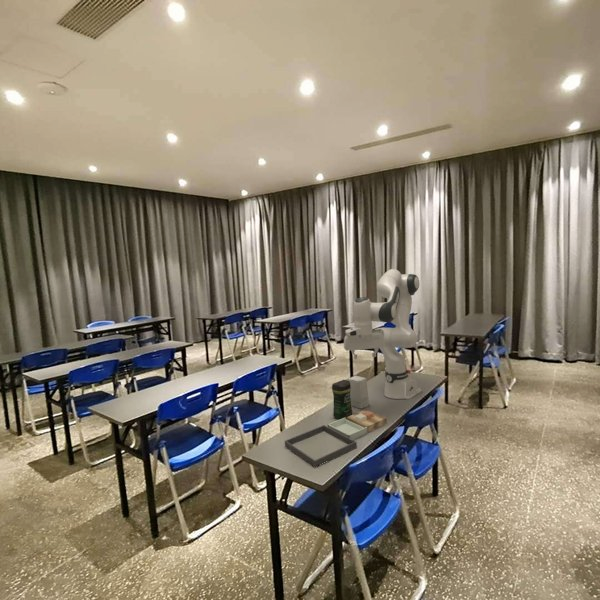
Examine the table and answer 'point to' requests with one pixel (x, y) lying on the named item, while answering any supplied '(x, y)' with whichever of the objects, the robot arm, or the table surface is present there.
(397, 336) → the robot arm
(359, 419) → the cream tile
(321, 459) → the mat rim
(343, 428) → the tray
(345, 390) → the coffee jar
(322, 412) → the table surface
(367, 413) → the terracotta tile
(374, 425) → the oak board
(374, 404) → the table surface
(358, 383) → the skincare box
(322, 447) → the table surface
